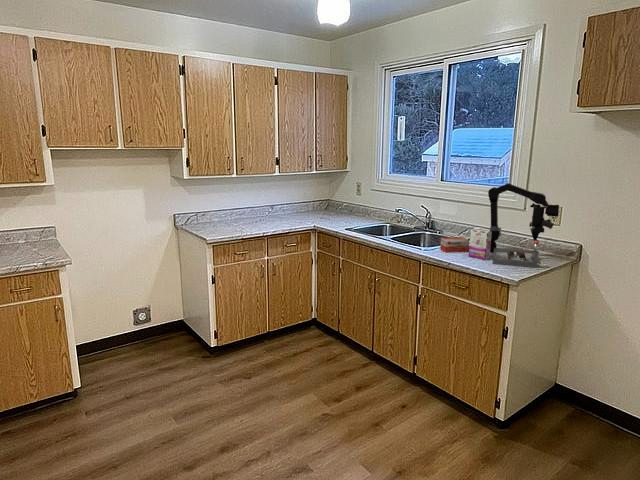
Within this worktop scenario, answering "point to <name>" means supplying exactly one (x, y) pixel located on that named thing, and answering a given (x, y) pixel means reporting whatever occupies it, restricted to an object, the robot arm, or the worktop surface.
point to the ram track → (534, 259)
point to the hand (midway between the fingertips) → (534, 241)
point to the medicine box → (454, 244)
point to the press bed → (515, 262)
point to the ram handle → (535, 247)
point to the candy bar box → (480, 244)
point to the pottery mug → (522, 255)
